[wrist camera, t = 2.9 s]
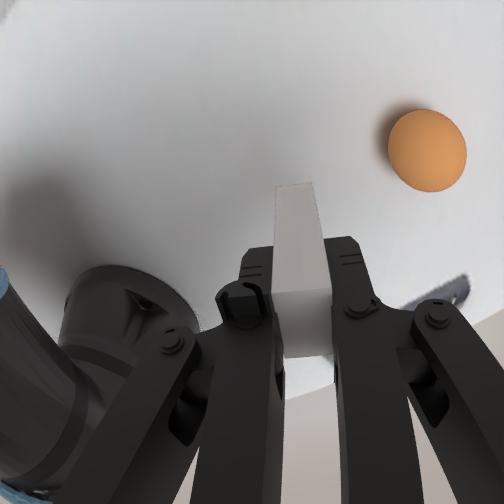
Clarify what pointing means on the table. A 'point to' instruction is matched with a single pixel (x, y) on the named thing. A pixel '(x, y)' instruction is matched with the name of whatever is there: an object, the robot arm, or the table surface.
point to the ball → (427, 150)
